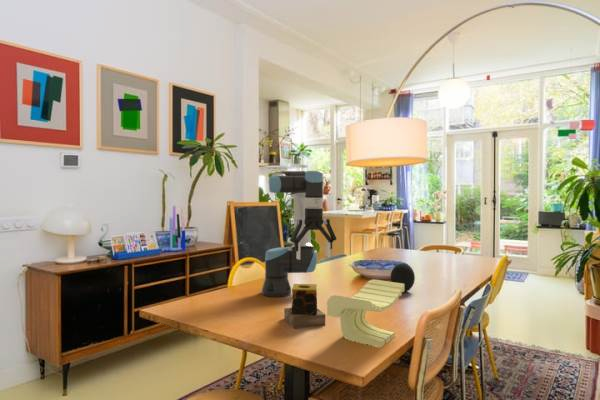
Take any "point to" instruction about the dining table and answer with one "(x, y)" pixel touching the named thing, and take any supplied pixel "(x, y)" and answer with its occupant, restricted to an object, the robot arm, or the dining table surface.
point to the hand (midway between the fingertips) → (313, 258)
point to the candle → (304, 299)
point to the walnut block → (304, 319)
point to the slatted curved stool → (353, 311)
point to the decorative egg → (403, 276)
